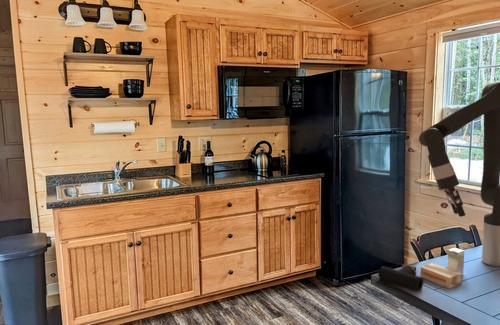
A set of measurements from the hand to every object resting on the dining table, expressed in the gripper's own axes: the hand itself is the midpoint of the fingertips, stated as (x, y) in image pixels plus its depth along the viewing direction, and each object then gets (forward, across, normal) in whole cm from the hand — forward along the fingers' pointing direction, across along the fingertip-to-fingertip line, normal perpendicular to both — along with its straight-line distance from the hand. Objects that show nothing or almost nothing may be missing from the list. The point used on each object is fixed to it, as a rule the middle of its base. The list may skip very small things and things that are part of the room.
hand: (459, 214), depth 150 cm
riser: (+20, -8, +16) cm, 27 cm away
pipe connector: (+17, -12, +29) cm, 35 cm away
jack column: (+22, -1, +10) cm, 24 cm away
